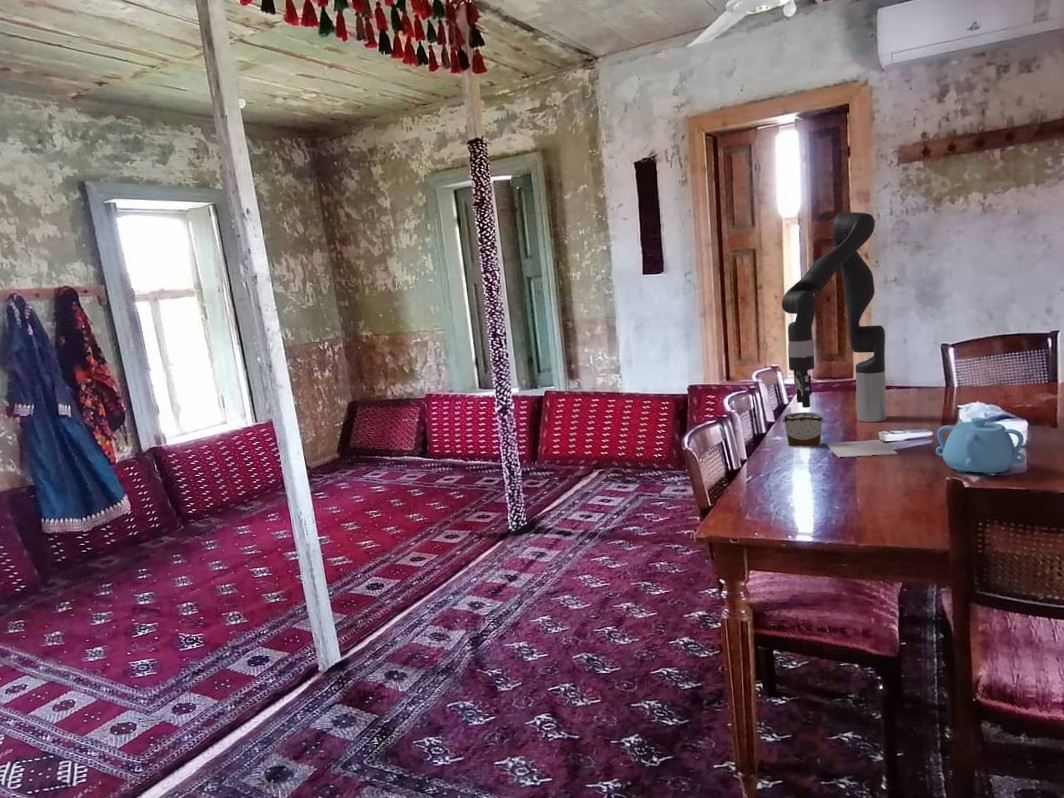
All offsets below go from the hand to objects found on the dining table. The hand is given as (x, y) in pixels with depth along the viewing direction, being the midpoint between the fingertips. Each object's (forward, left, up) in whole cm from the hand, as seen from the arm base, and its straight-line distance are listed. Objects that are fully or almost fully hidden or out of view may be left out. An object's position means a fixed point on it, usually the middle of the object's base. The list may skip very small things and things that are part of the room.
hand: (803, 404), depth 217 cm
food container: (0, 0, -13) cm, 13 cm away
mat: (+10, +14, -13) cm, 21 cm away
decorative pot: (+36, +36, -13) cm, 52 cm away
